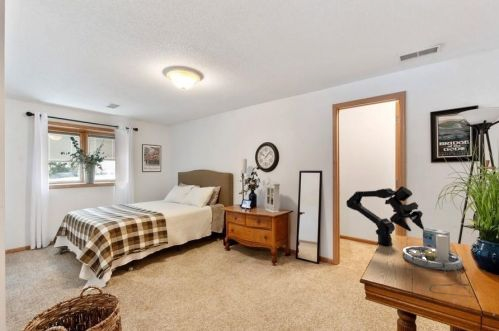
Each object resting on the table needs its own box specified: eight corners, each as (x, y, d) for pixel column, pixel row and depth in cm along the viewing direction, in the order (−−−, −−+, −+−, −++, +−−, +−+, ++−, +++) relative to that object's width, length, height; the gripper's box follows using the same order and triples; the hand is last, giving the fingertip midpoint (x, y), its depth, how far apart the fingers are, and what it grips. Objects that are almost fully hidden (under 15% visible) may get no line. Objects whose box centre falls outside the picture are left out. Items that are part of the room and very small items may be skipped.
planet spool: (436, 264, 112) (435, 236, 112) (434, 259, 117) (433, 233, 117) (451, 266, 109) (451, 238, 109) (448, 261, 114) (447, 234, 114)
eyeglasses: (473, 293, 90) (473, 280, 90) (429, 290, 93) (429, 277, 93) (447, 274, 106) (447, 263, 106) (410, 272, 109) (410, 261, 109)
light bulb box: (422, 247, 138) (422, 228, 138) (429, 245, 141) (428, 227, 141) (443, 253, 128) (443, 233, 128) (450, 251, 131) (450, 231, 131)
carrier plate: (393, 258, 123) (393, 250, 123) (415, 248, 136) (415, 241, 136) (450, 276, 103) (450, 266, 103) (470, 262, 115) (470, 254, 115)
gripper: (393, 198, 128) (414, 223, 118) (419, 196, 134) (440, 220, 123) (382, 210, 136) (400, 235, 125) (406, 207, 141) (425, 231, 131)
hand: (417, 230), depth 126 cm, fingers open, 9 cm apart
